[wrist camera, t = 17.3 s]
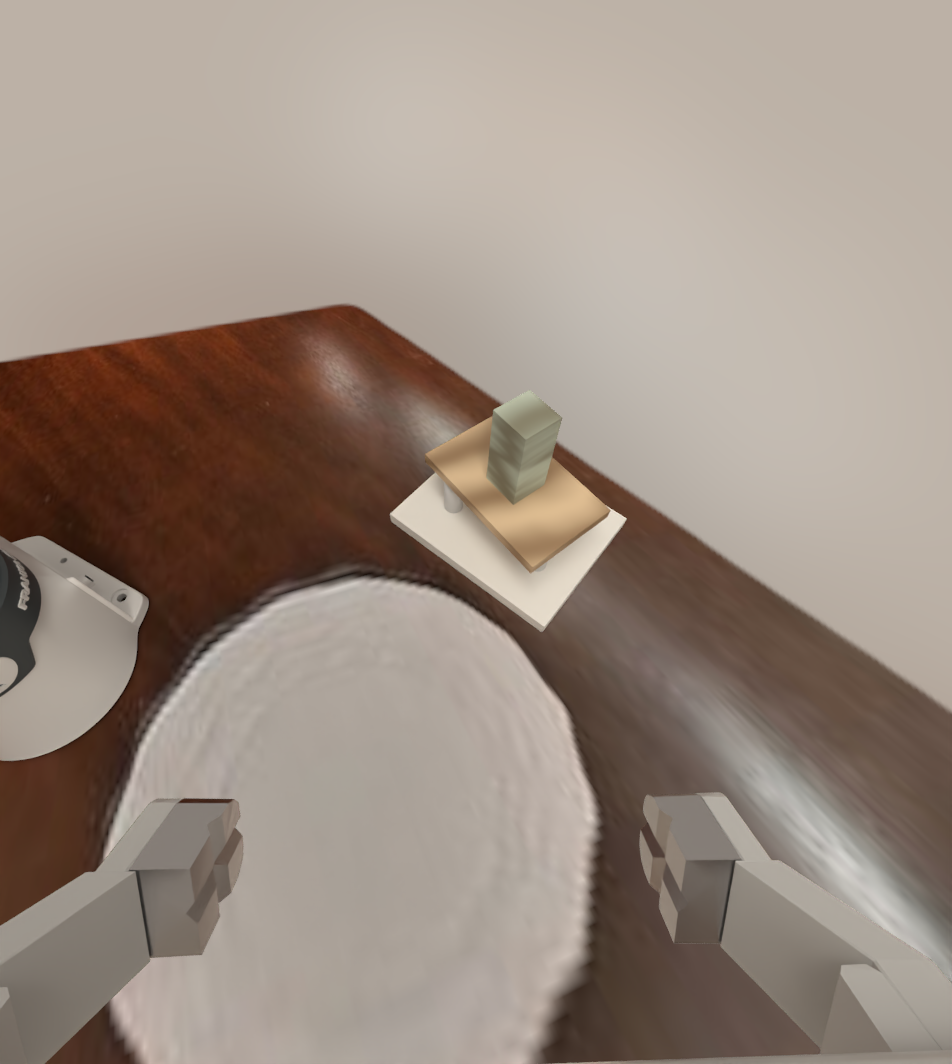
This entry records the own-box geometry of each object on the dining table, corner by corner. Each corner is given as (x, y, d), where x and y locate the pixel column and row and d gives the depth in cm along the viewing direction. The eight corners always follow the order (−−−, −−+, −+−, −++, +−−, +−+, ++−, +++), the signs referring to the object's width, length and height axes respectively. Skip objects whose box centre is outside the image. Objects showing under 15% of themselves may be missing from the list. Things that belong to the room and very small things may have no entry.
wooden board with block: (425, 461, 50) (420, 383, 42) (500, 419, 54) (510, 339, 45) (530, 573, 44) (550, 509, 36) (607, 517, 48) (641, 446, 39)
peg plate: (391, 521, 54) (384, 485, 49) (481, 437, 61) (484, 398, 56) (542, 632, 48) (554, 606, 43) (622, 526, 55) (641, 491, 50)
